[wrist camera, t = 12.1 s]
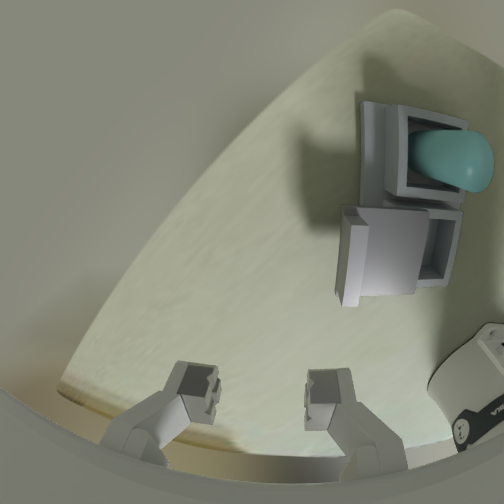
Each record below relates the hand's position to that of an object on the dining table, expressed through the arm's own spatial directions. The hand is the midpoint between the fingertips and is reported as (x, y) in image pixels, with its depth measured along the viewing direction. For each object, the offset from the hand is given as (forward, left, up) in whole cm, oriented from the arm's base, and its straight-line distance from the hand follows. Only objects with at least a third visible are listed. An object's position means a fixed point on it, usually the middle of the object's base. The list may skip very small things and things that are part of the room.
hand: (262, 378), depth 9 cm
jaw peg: (-13, -8, -16) cm, 22 cm away
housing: (-13, -4, -17) cm, 22 cm away
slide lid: (-8, 0, -13) cm, 15 cm away
